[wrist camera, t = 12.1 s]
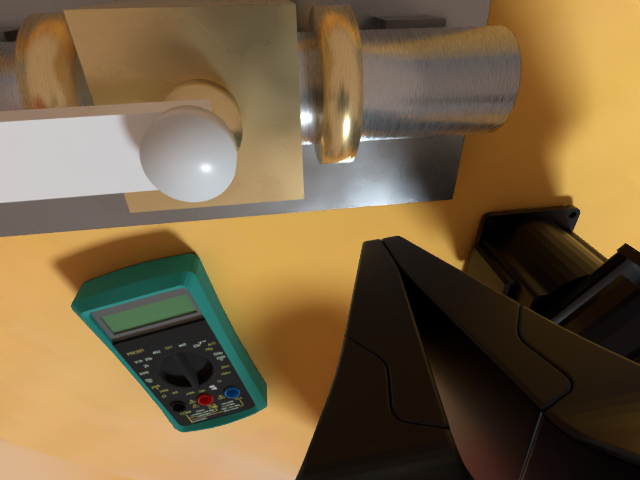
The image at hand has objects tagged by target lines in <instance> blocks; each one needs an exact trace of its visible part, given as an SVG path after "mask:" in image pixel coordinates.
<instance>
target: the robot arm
mask: <svg viewBox="0 0 640 480" xmlns="http://www.w3.org/2000/svg"><path fill="white" fill-rule="evenodd" d="M570 213H571V214H570ZM569 214H570V215H569ZM579 215H580V210H579V209H578V208H576V207H575V206H572V205H569V206H558V207H547V208H535V209H524V210H513V211H501V212H490V213H487V214H485V215H484V216H483V217H482V219H481V221H480V225H479V229H478V233H477V237H476V241H475V245H474V246H473V249H472V253H471V257H470V261H469V265H468V269H467V273H464V272H462V271H461V270H459V269H457V268H455V267H454V266H452V265H450V264H448V263H446V262H445V261H443V260H441V259H439V258H438V257H436V256H434V255H432V254H431V253H429V252H427V251H425V250H423V249H422V248H420V247H418V246H416V245H415V244H413V243H411V242H409V241H408V240H406V239H404V238H402V237H400V236H393V237H388V238H383V239H382V241H381V240H380V239H376V240H371V241H365V242H363V245H362V250H361V255H360V260H359V265H358V270H357V275H356V280H355V285H354V290H353V295H352V300H351V305H350V310H349V315H348V320H347V325H346V330H345V335H344V340H343V344H342V349H341V354H340V358H339V362H338V366H337V370H336V374H335V377H334V380H333V383H332V386H331V389H330V392H329V395H328V398H327V401H326V403H325V406H324V408H323V411H322V414H321V416H320V419H319V422H318V424H317V427H316V430H315V432H314V435H313V438H312V440H311V443H310V445H309V448H308V451H307V453H306V456H305V459H304V461H303V463H302V466H301V468H300V470H299V473H298V475H297V477H296V479H295V480H640V252H638V251H637V250H635V249H634V248H632V247H631V246H629V245H628V244H626V243H625V244H624V245H623V246H621V247H620V248H619V249H618V250H617V251H618V252H617V253H616V254H614V255H613V256H612V257H611V258H610V259H607V258H606V257H604V256H603V255H602V254H600V253H599V252H598V251H597V250H595V249H594V248H593V247H592V246H590V245H589V244H588V243H587V242H585V241H584V240H583V239H581V238H580V237H579V236H578V235H576V234H575V233H574V232H573V229H574V227H575V225H576V222H577V220H578V217H579ZM491 219H492V220H491ZM489 220H491V221H490V222H489V223H488V221H489Z"/></svg>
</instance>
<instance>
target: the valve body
mask: <svg viewBox="0 0 640 480" xmlns="http://www.w3.org/2000/svg"><path fill="white" fill-rule="evenodd" d="M490 4H491V0H0V111H14V110H30V109H47V108H64V107H80V106H97V105H114V104H131V103H147V102H164V101H181V100H197V99H210V105H211V110H212V112H213V113H215V114H216V115H218V116H219V117H220V118H221V119H222V120H224V122H225V123H226V124H227V125H228V126H229V128H230V129H231V131H232V133H233V135H234V137H235V140H236V144H237V163H236V171H235V175H234V178H233V180H232V182H231V184H230V185H229V186H228V188H227V189H226V190H225V191H224V192H223V193H221V194H220V195H218V196H217V197H215V198H213V199H210V200H207V201H202V202H185V201H180V200H177V199H174V198H172V197H169V196H167V195H166V194H164V193H162V192H161V191H160V190H152V191H139V192H127V193H115V194H103V195H91V196H79V197H67V198H54V199H42V200H30V201H18V202H6V203H0V237H5V236H17V235H29V234H41V233H53V232H65V231H77V230H89V229H101V228H113V227H125V226H137V225H149V224H161V223H173V222H185V221H197V220H209V219H221V218H233V217H245V216H257V215H269V214H281V213H293V212H305V211H317V210H329V209H341V208H353V207H365V206H377V205H389V204H401V203H413V202H425V201H437V200H449V199H452V198H453V193H454V188H455V182H456V177H457V172H458V167H459V162H460V157H461V152H462V147H463V142H464V137H465V134H479V133H490V132H493V131H495V130H497V129H498V128H500V127H501V126H502V124H503V123H504V122H505V121H506V119H507V118H508V116H509V114H510V113H511V110H512V108H513V106H514V103H515V101H516V97H517V94H518V89H519V84H520V77H521V58H520V51H519V46H518V43H517V40H516V38H515V36H514V34H513V33H512V32H511V31H510V29H508V28H507V27H505V26H502V25H494V26H486V24H487V19H488V14H489V9H490Z"/></svg>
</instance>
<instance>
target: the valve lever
mask: <svg viewBox="0 0 640 480" xmlns="http://www.w3.org/2000/svg"><path fill="white" fill-rule="evenodd" d="M236 163H237V144H236V140H235V137H234V135H233V133H232V131H231V129H230V128H229V126H228V125H227V124H226V123H225V122H224V120H222V119H221V118H220V117H219V116H218V115H216V114H215V113H213V112H212V110H211V105H210V99H197V100H181V101H164V102H147V103H131V104H114V105H97V106H80V107H64V108H47V109H30V110H14V111H0V203H6V202H18V201H30V200H42V199H54V198H67V197H79V196H91V195H103V194H115V193H127V192H139V191H152V190H160V191H161V192H162V193H164V194H166V195H167V196H169V197H172V198H174V199H177V200H180V201H185V202H202V201H207V200H210V199H213V198H215V197H217V196H218V195H220V194H221V193H223V192H224V191H225V190H226V189H227V188H228V186H229V185H230V184H231V182H232V180H233V178H234V175H235V171H236Z"/></svg>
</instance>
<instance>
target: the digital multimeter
mask: <svg viewBox="0 0 640 480" xmlns="http://www.w3.org/2000/svg"><path fill="white" fill-rule="evenodd" d="M71 308H72V310H73V311H74V312H75V313H76V314H77V315H78V316H79V317H80V318H81V319H82V320H83V321H84V323H85V324H86V325H87V326H88V327H89V328H90V329H91V330H92V331H93V332H94V333H95V334H96V335H97V336H98V337H99V338H100V340H101V341H102V342H103V343H104V344H105V345H106V346H107V347H108V348H109V349H110V350H111V351H112V352H113V353H114V355H115V356H116V357H117V358H118V359H119V360H120V361H121V363H122V364H123V365H124V366H125V367H126V368H127V369H128V371H129V372H130V373H131V374H132V375H133V376H134V378H135V379H136V380H137V381H138V382H139V383H140V384H141V386H142V387H143V388H144V389H145V390H146V392H147V393H148V394H149V395H150V397H151V398H152V399H153V400H154V401H155V403H156V404H157V405H158V406H159V408H160V409H161V410H162V411H163V413H164V414H165V416H166V417H167V418H168V420H169V421H170V423H171V424H172V425H173V427H174V428H175V429H177V430H178V431H180V432H190V431H198V430H203V429H209V428H214V427H218V426H221V425H225V424H229V423H231V422H234V421H237V420H240V419H243V418H245V417H248V416H250V415H253V414H255V413H257V412H259V411H260V410H262V409H264V408H266V406H267V385H266V383H265V381H264V380H263V378H262V377H261V375H260V374H259V372H258V371H257V369H256V367H255V366H254V364H253V362H252V361H251V359H250V357H249V356H248V354H247V352H246V351H245V349H244V347H243V346H242V344H241V342H240V341H239V339H238V337H237V335H236V333H235V331H234V329H233V327H232V325H231V324H230V322H229V320H228V318H227V316H226V314H225V312H224V310H223V308H222V306H221V304H220V302H219V300H218V298H217V295H216V293H215V291H214V289H213V287H212V285H211V282H210V280H209V278H208V276H207V274H206V272H205V269H204V267H203V265H202V263H201V261H200V259H199V257H198V256H197V255H195V254H192V253H191V254H183V255H177V256H172V257H167V258H162V259H157V260H153V261H148V262H144V263H140V264H137V265H133V266H130V267H126V268H123V269H120V270H117V271H114V272H111V273H108V274H105V275H103V276H100V277H97V278H95V279H92V280H89V281H87V282H85V283H83V284H82V286H81V288H80V290H79V291H78V293H77V295H76V297H75V299H74V300H73V302H72V305H71ZM206 321H207V322H206ZM209 326H210V327H209ZM212 331H213V332H212ZM213 333H214V334H213ZM216 338H217V339H216ZM219 343H220V344H219ZM222 348H223V349H222ZM223 350H224V351H223ZM226 355H227V356H226ZM229 360H230V361H229ZM156 363H157V364H156ZM232 365H233V366H232ZM242 382H243V383H242ZM245 387H246V388H245ZM246 389H247V390H246Z"/></svg>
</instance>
